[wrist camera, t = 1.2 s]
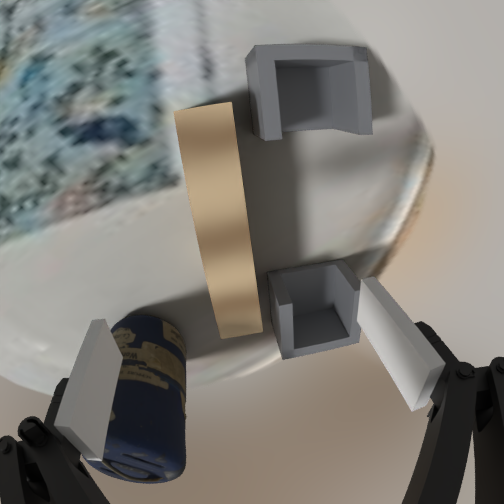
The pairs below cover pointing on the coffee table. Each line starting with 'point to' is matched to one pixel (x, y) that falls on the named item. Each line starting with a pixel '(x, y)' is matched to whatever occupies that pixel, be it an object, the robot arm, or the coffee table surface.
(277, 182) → the coffee table surface
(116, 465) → the canister
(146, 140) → the coffee table surface
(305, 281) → the endcap
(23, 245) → the coffee table surface
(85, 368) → the robot arm
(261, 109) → the endcap
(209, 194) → the slat
